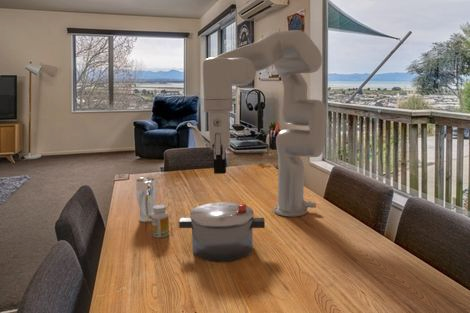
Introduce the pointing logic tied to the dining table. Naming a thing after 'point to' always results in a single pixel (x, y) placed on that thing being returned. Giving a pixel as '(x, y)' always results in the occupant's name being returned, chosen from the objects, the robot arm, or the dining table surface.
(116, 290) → the dining table surface
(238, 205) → the cooker lid
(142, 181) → the beer glass
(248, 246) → the cooking pot
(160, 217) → the supplement bottle
